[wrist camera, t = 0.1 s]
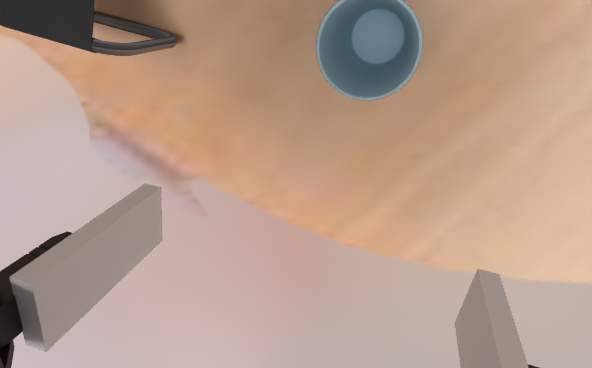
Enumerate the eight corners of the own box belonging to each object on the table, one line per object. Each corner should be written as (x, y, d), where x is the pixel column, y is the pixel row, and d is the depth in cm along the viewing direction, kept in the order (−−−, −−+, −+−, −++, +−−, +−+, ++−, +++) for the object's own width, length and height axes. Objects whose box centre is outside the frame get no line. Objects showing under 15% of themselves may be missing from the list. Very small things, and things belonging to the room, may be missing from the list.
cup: (407, -24, 36) (405, -31, 26) (430, 60, 38) (435, 80, 29) (328, 11, 38) (301, 15, 29) (354, 87, 41) (337, 113, 32)
